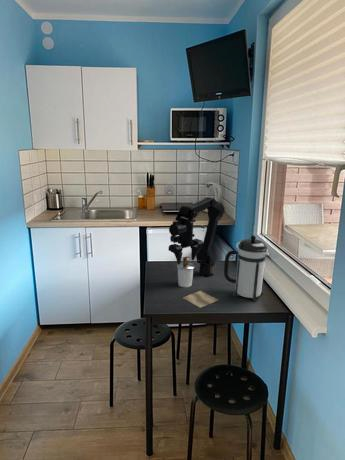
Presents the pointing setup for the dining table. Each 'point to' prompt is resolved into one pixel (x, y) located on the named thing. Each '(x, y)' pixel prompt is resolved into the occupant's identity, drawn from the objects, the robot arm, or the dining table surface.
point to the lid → (185, 264)
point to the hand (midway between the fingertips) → (185, 262)
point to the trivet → (200, 299)
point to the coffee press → (248, 267)
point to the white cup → (185, 277)
